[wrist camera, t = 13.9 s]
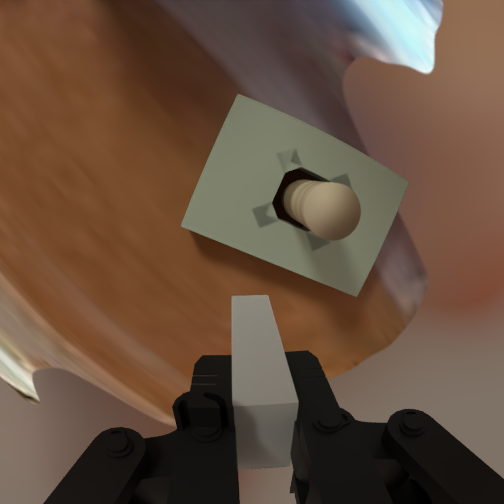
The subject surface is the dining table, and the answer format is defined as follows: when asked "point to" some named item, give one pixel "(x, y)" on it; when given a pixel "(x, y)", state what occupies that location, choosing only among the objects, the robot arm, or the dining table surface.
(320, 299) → the dining table surface
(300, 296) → the dining table surface
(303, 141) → the seat plank
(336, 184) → the peg
